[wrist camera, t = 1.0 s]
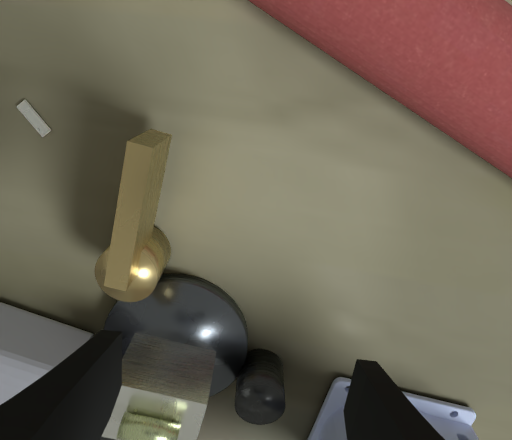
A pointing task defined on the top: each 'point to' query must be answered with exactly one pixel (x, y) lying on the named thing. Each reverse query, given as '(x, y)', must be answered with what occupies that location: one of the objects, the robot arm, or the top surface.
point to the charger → (32, 347)
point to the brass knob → (137, 223)
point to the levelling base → (188, 321)
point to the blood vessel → (423, 59)
